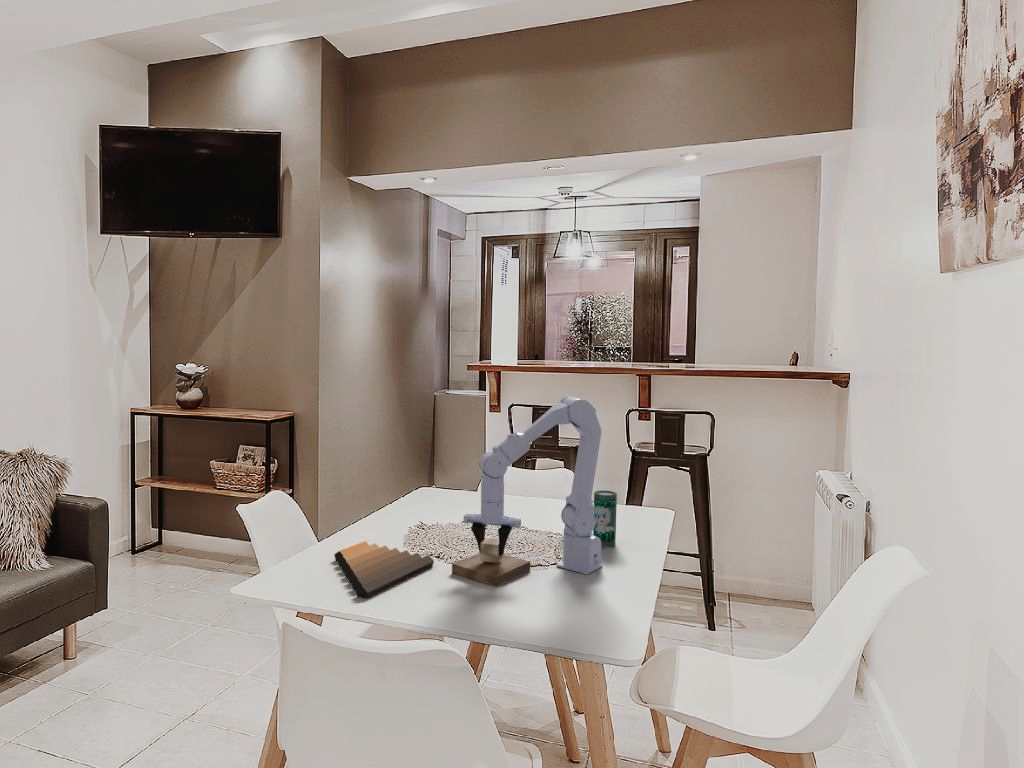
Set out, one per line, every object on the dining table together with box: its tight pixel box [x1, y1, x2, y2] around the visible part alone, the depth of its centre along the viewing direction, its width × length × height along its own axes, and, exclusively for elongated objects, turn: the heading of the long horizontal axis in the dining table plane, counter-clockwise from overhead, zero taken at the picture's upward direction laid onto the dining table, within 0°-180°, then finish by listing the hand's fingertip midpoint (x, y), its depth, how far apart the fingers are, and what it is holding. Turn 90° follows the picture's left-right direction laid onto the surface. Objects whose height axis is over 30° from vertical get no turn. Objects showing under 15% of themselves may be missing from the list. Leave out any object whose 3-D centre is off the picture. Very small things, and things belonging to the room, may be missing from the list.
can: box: [592, 490, 618, 549], centre depth 192 cm, size 6×6×15 cm
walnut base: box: [451, 553, 531, 588], centre depth 168 cm, size 14×14×2 cm
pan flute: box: [333, 540, 435, 600], centre depth 167 cm, size 25×3×25 cm
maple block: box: [480, 537, 503, 563], centre depth 168 cm, size 4×4×4 cm
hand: (491, 553), depth 168 cm, fingers closed on maple block, 4 cm apart
